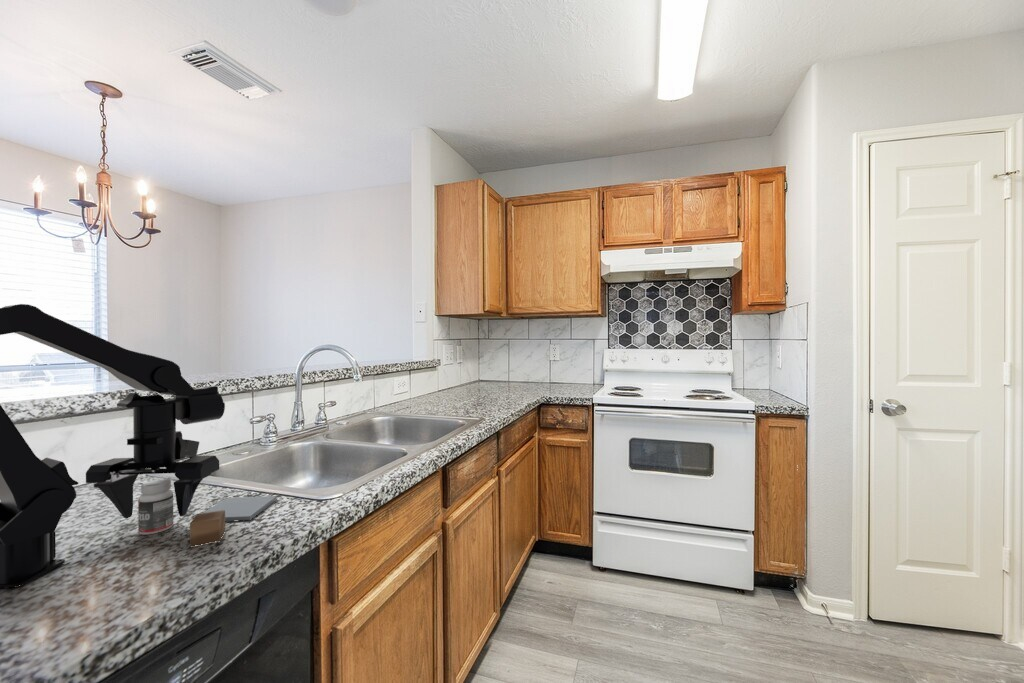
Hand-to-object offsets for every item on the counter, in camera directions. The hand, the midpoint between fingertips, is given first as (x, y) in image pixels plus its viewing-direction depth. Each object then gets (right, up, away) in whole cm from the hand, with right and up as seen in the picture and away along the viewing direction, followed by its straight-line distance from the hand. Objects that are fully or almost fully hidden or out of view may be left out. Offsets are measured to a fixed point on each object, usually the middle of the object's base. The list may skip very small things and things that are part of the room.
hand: (155, 516), depth 73 cm
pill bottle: (0, -3, 0) cm, 2 cm away
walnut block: (+12, -2, -4) cm, 13 cm away
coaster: (+9, -2, +8) cm, 12 cm away
